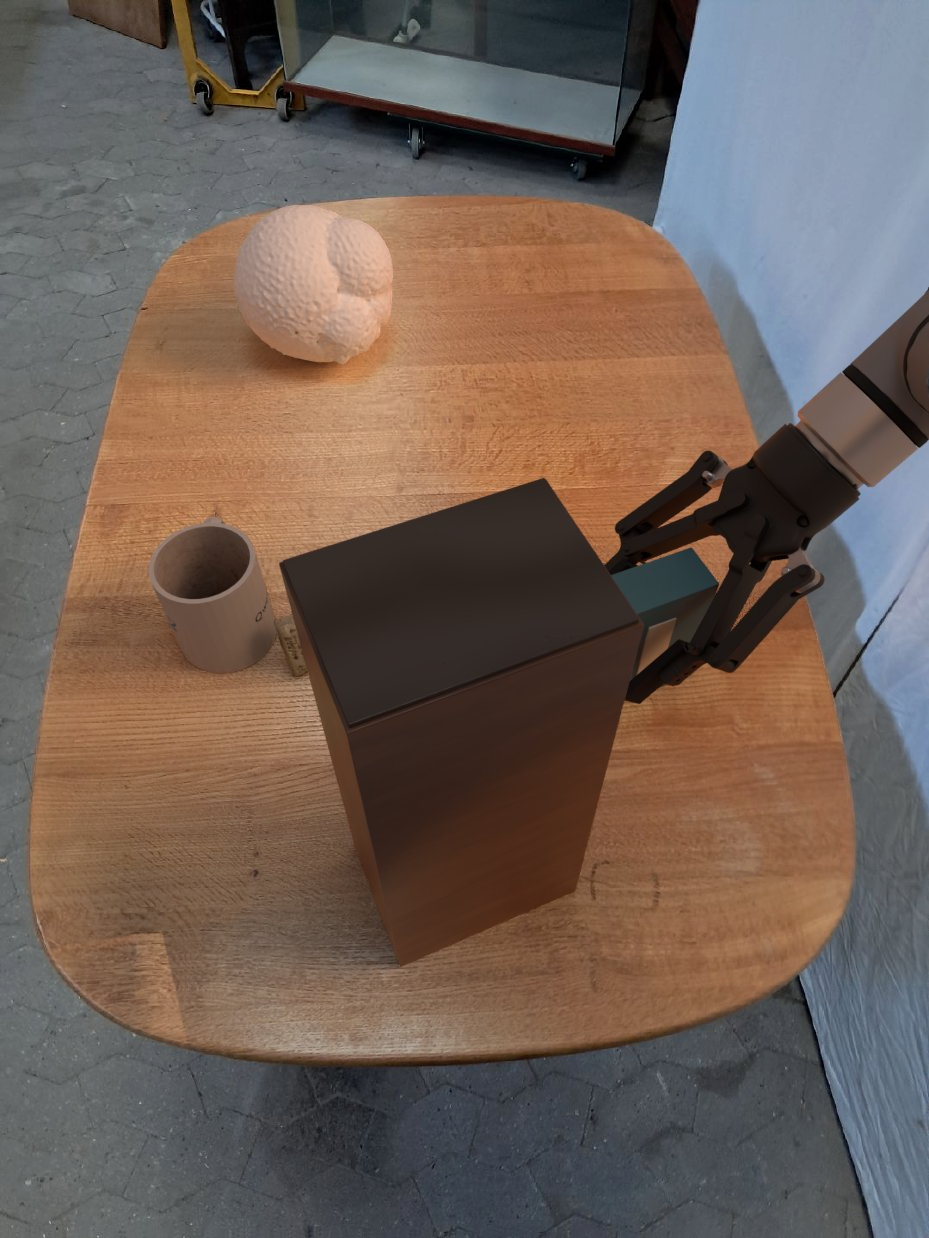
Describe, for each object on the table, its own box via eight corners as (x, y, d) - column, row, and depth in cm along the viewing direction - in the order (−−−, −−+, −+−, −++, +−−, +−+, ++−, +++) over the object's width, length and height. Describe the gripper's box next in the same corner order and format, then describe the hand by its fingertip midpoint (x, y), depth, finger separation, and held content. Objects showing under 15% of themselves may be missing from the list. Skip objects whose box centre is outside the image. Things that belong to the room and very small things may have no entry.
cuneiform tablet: (429, 647, 81) (302, 700, 77) (408, 618, 84) (285, 667, 80) (419, 587, 76) (283, 640, 72) (398, 558, 79) (266, 608, 76)
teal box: (687, 678, 79) (720, 585, 68) (595, 714, 76) (615, 623, 66) (663, 642, 81) (691, 546, 70) (573, 676, 79) (588, 582, 68)
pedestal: (575, 890, 67) (645, 620, 40) (399, 967, 64) (345, 730, 37) (518, 778, 73) (546, 473, 46) (353, 843, 70) (277, 558, 42)
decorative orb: (247, 300, 112) (218, 172, 99) (390, 286, 113) (380, 158, 100) (250, 407, 100) (218, 277, 87) (410, 389, 101) (401, 259, 89)
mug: (265, 676, 79) (241, 607, 71) (169, 669, 79) (134, 600, 71) (293, 568, 86) (274, 493, 78) (204, 562, 87) (177, 488, 79)
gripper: (942, 571, 62) (691, 765, 71) (766, 387, 73) (570, 576, 82) (909, 543, 56) (642, 757, 65) (724, 349, 67) (519, 555, 77)
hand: (602, 656), depth 74 cm, fingers open, 8 cm apart
